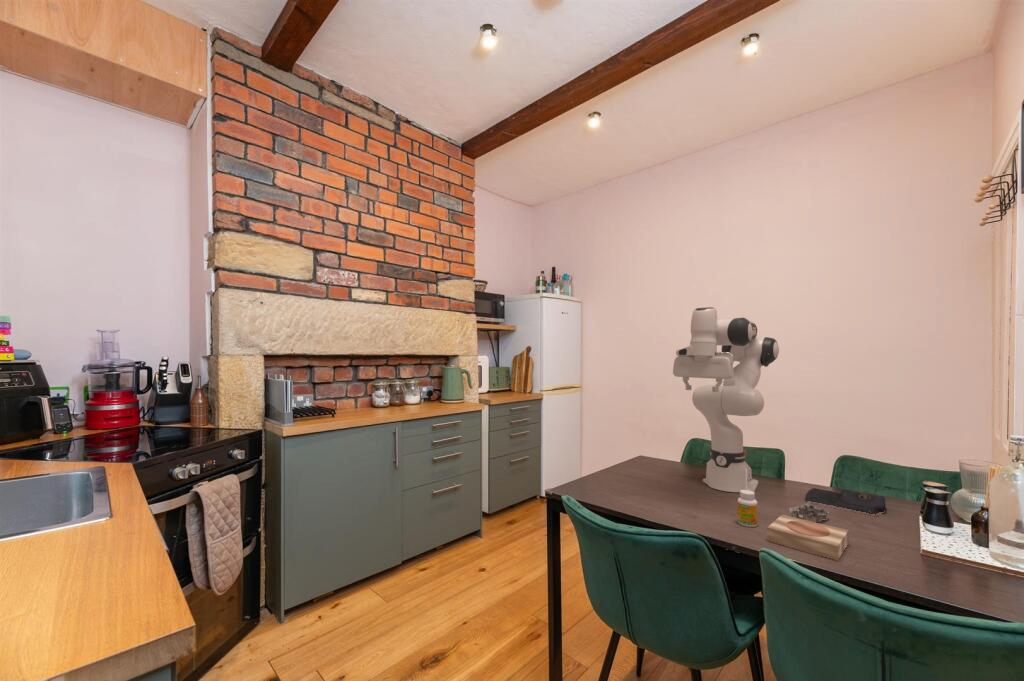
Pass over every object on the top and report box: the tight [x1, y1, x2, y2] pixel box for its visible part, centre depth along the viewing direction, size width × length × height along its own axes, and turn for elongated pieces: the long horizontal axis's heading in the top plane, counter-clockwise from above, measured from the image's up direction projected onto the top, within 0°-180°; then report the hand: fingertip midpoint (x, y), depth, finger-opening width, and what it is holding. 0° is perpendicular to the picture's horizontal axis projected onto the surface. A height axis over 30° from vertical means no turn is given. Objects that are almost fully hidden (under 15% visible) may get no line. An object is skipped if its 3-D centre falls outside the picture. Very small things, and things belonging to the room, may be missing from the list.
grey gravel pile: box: [788, 502, 830, 523], centre depth 137 cm, size 11×8×4 cm
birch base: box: [766, 514, 850, 561], centre depth 120 cm, size 14×16×4 cm
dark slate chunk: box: [804, 487, 887, 515], centre depth 151 cm, size 15×22×5 cm
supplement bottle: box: [737, 490, 759, 528], centre depth 133 cm, size 5×5×10 cm
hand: (701, 391), depth 153 cm, fingers open, 8 cm apart
